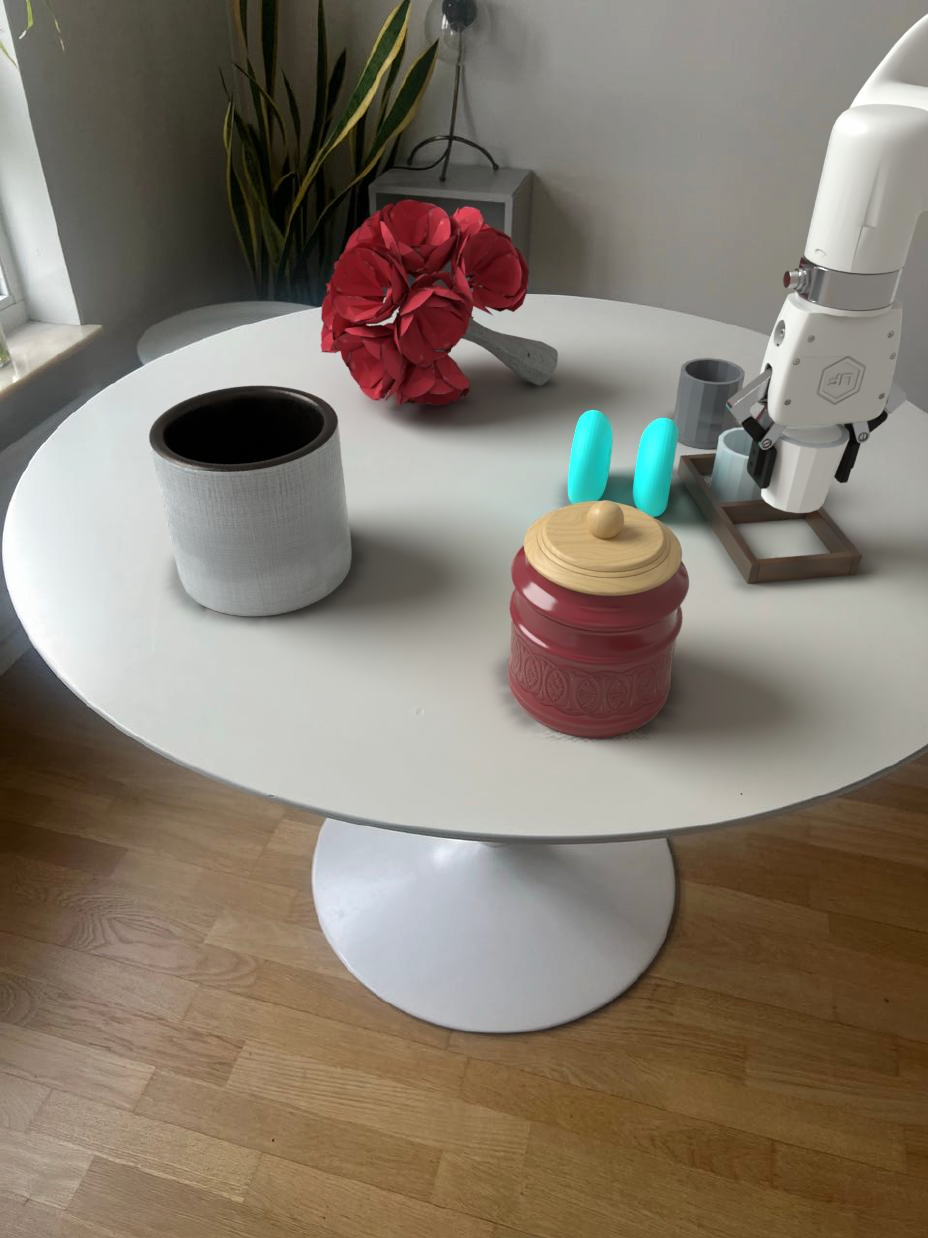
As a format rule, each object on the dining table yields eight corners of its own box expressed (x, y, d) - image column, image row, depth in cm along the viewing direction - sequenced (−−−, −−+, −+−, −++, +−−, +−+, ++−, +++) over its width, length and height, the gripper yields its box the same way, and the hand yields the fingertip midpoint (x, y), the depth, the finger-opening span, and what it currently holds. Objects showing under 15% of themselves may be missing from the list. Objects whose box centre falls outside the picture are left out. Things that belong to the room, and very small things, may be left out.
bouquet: (483, 394, 134) (288, 307, 120) (576, 246, 121) (370, 129, 107) (518, 479, 118) (298, 390, 104) (628, 319, 106) (396, 193, 92)
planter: (149, 609, 84) (107, 455, 74) (229, 516, 96) (203, 374, 86) (314, 639, 81) (293, 482, 71) (376, 539, 93) (366, 394, 83)
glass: (758, 483, 101) (772, 425, 97) (784, 517, 96) (799, 456, 92) (698, 488, 100) (709, 429, 96) (720, 522, 95) (733, 461, 91)
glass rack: (768, 473, 103) (774, 448, 101) (853, 582, 87) (862, 555, 85) (676, 480, 102) (680, 455, 100) (745, 592, 86) (751, 564, 84)
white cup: (846, 509, 85) (866, 440, 80) (780, 522, 83) (797, 452, 79) (802, 473, 90) (820, 406, 86) (740, 484, 88) (754, 416, 84)
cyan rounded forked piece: (661, 538, 93) (676, 448, 87) (562, 524, 95) (569, 436, 89) (669, 487, 101) (683, 402, 94) (577, 476, 102) (584, 391, 96)
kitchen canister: (667, 647, 80) (699, 465, 69) (667, 757, 70) (705, 566, 59) (516, 631, 82) (524, 451, 71) (496, 737, 72) (502, 547, 61)
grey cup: (719, 419, 113) (731, 356, 108) (740, 446, 108) (754, 381, 103) (663, 422, 112) (673, 359, 107) (682, 450, 107) (693, 385, 102)
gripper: (761, 304, 70) (720, 507, 82) (975, 293, 72) (906, 492, 83) (725, 271, 76) (692, 464, 87) (925, 262, 78) (867, 452, 89)
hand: (797, 476), depth 85 cm, fingers closed on white cup, 6 cm apart
